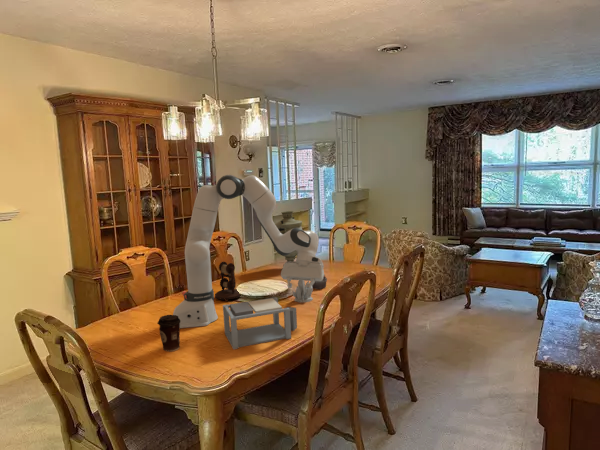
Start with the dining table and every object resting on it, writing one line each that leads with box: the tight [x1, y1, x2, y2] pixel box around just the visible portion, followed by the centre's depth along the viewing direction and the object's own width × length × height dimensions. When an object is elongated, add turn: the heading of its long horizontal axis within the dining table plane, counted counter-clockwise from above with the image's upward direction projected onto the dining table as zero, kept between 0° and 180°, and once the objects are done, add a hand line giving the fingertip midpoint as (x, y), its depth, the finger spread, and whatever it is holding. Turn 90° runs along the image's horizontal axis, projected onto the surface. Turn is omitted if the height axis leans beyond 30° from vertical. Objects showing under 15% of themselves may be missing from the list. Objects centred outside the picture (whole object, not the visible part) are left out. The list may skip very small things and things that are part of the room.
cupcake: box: [312, 273, 328, 290], centre depth 242 cm, size 10×10×10 cm
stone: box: [286, 306, 298, 332], centre depth 181 cm, size 4×4×9 cm
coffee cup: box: [156, 314, 181, 352], centre depth 165 cm, size 9×8×13 cm
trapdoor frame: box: [222, 296, 292, 350], centre depth 174 cm, size 24×18×12 cm
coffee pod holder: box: [214, 261, 241, 303], centre depth 228 cm, size 15×15×20 cm
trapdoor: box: [229, 297, 283, 317], centre depth 173 cm, size 19×13×3 cm
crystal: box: [292, 280, 314, 303], centre depth 220 cm, size 10×13×15 cm
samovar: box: [274, 210, 303, 272], centre depth 286 cm, size 30×26×40 cm
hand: (298, 287), depth 190 cm, fingers open, 8 cm apart
